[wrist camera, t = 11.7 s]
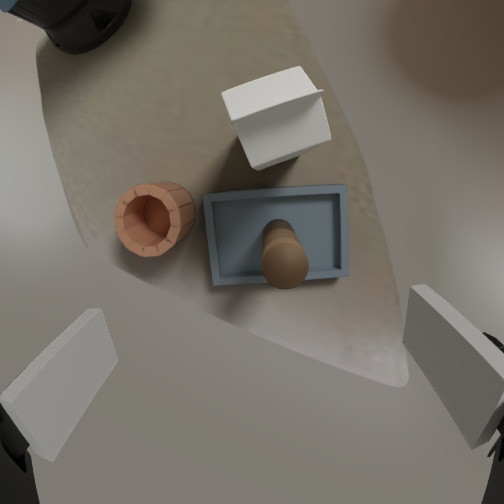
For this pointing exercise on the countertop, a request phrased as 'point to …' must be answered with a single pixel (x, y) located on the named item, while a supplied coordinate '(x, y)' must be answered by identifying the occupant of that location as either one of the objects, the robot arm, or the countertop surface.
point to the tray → (265, 210)
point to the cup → (154, 217)
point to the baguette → (283, 256)
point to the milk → (277, 117)
